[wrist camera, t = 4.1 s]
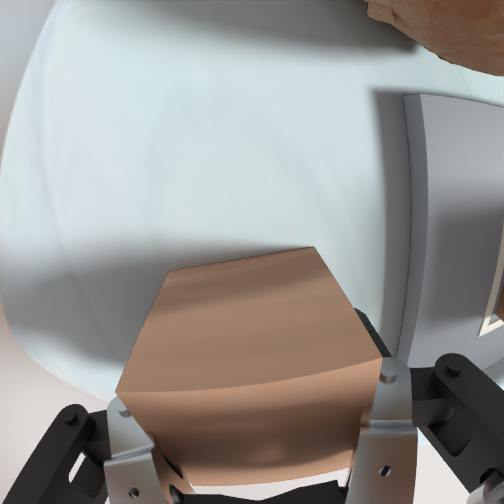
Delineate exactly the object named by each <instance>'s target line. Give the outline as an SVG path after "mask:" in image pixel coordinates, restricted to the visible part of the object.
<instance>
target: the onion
mask: <svg viewBox="0 0 504 504" xmlns="http://www.w3.org/2000/svg"><path fill="white" fill-rule="evenodd" d="M362 1H364V2H366V3H368V4H369V5H368V9H367V14H368V17H370V18H373V19H375V20H377V21H381V22H385V23H389V24H391V25H393V26H394V27H395V28H397V29H398V30H399V31H401V32H402V33H404V34H405V35H407V36H408V37H409V38H411V39H413V40H414V41H416V42H418V43H419V44H421V45H422V46H424V47H425V48H426V49H427V50H428V51H430V52H433V53H435V54H436V55H438V57H439V58H440V59H443V60H445V61H447V62H449V63H451V64H456V65H460V66H463V67H466V68H469V69H471V70H474V71H479V72H483V73H487V74H491V75H494V76H504V0H362Z"/></svg>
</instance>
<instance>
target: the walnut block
mask: <svg viewBox="0 0 504 504" xmlns="http://www.w3.org/2000/svg"><path fill="white" fill-rule="evenodd" d="M495 314H496V315H497V316H498V317H499V318H500V319H501V320H502V321H503V322H504V285H503V289H502V293H501V296H500V300H499V303H498V307H497V310H496V313H495Z"/></svg>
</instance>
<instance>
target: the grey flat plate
mask: <svg viewBox="0 0 504 504" xmlns="http://www.w3.org/2000/svg"><path fill="white" fill-rule="evenodd" d="M403 102H404V109H405V116H406V124H407V133H408V143H409V155H410V171H411V245H410V261H409V273H408V283H407V292H406V301H405V308H404V315H403V322H402V328H401V334H400V339H399V345H398V350H397V355H396V358H397V359H400V360H402V361H403V362H405V363H406V364H407V365H408V367H410V368H423V367H434V366H435V363H436V361H437V359H438V358H439V357H441V356H442V355H444V354H447V353H458V354H461V355H463V356H465V357H466V358H468V359H469V360H470V361H471V362H472V363H474V364H475V365H476V366H477V367H478V368H479V369H480V370H481V371H483V370H485V369H487V368H488V367H490V366H492V365H493V364H495V363H497V362H498V361H500V360H502V359H503V358H504V322H503V321H502V320H501V319H500V318H499V317H498V316H497V315H496V314H495V313H496V310H497V307H498V303H499V300H500V296H501V293H502V289H503V285H504V108H503V107H498V106H494V105H490V104H485V103H480V102H475V101H470V100H464V99H458V98H452V97H445V96H437V95H428V94H415V95H409V96H403Z"/></svg>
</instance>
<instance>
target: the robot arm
mask: <svg viewBox="0 0 504 504" xmlns="http://www.w3.org/2000/svg"><path fill="white" fill-rule="evenodd" d="M354 310H355V311H356V313H357V315H358V316H359V318H360V320H361V321H362V323H363V325H364V326H365V328H366V330H367V331H368V333H369V335H370V336H371V338H372V340H373V341H374V343H375V345H376V347H377V348H378V350H379V352H380V354H381V355H382V357H383V358H382V364H381V369H380V374H379V380H378V384H377V389H376V394H375V398H374V403H372V404H369V405H365V406H363V407H362V412H361V418H360V424H359V431H358V436H357V441H356V443H354V447H353V451H352V457H351V461H350V466H349V470H348V474H347V478H346V482H345V486H344V487H339V486H338V481H337V480H333V481H329V482H325V483H320V484H315V485H310V486H305V487H299V488H296V489H294V490H291V491H288V492H285V493H283V494H280V495H277V496H274V497H271V498H268V499H264V500H260V501H256V500H249V499H242V498H236V497H231V496H225V495H220V494H214V495H211V494H210V495H209V494H205V495H204V494H196V493H195V492H194V490H193V489H192V487H191V486H190V484H189V482H188V479H187V477H186V474H185V472H184V470H183V468H182V467H181V466H180V465H179V464H172V463H171V462H170V461H169V460H168V459H167V458H166V457H165V456H164V454H163V453H162V451H161V448H160V444H159V441H158V439H157V438H156V437H155V436H154V434H153V433H152V432H151V431H143V429H142V428H141V427H140V426H139V424H138V423H137V422H136V420H135V419H134V418H133V416H132V415H131V414H130V412H129V411H128V410H127V408H126V407H125V405H124V404H123V403H122V401H121V400H120V398H119V397H118V396H117V397H115V398H114V399H113V400H112V401H111V402H110V404H109V405H108V408H107V410H103V411H98V412H93V413H88V412H87V410H86V409H85V408H84V407H83V406H82V405H79V404H72V405H69V406H66V407H65V408H63V409H62V410H61V411H60V412H59V414H58V415H57V417H56V418H55V419H54V421H53V422H52V424H51V425H50V427H49V428H48V430H47V431H46V433H45V434H44V436H43V437H42V439H41V441H40V442H39V444H38V445H37V447H36V448H35V450H34V451H33V453H32V454H31V456H30V458H29V459H28V461H27V462H26V464H25V466H24V467H23V469H22V471H21V472H20V474H19V475H18V477H17V479H16V481H15V482H14V484H13V486H12V487H11V489H10V491H9V493H8V494H7V496H6V498H5V500H4V501H3V504H105V501H106V499H107V497H108V496H109V501H110V504H413V498H414V489H415V488H414V487H415V479H416V466H417V444H418V432H417V427H418V428H419V429H420V431H421V432H422V433H423V434H424V436H425V437H426V438H427V439H428V441H429V442H430V443H431V444H432V446H433V447H434V448H435V450H436V451H437V452H438V453H439V454H440V456H441V457H442V458H443V460H444V461H445V462H446V463H447V465H448V466H449V467H450V469H451V470H452V471H453V472H454V474H455V475H456V476H457V478H458V479H459V480H460V482H461V483H462V484H463V485H464V487H465V488H466V489H467V491H468V492H469V493H470V496H469V498H468V500H467V504H504V391H503V390H502V389H501V388H500V387H499V386H498V385H497V384H496V383H495V382H494V381H493V380H491V379H490V378H489V377H488V376H487V375H486V374H485V373H484V372H483V371H481V370H480V369H479V368H478V367H477V366H476V365H475V364H474V363H472V362H471V361H470V360H469V359H468V358H466V357H465V356H463V355H461V354H458V353H447V354H444V355H442V356H441V357H439V358H438V359H437V361H436V363H435V366H434V367H423V368H410V367H408V365H407V364H406V363H405V362H403V361H402V360H400V359H397V358H393V357H392V356H391V354H390V353H389V351H388V349H387V348H386V346H385V345H384V343H383V341H382V340H381V338H380V336H379V335H378V333H377V332H376V331H375V329H374V327H373V325H371V322H370V321H369V319H368V318H367V316H366V314H364V313H363V312H361V311H360V310H358V309H356V308H354ZM81 452H82V453H83V454H84V455H85V456H86V457H85V458H84V461H83V462H82V464H81V466H80V468H79V470H78V471H77V473H76V475H75V477H74V479H73V480H72V482H71V483H70V482H69V473H70V471H71V469H72V467H73V466H74V464H75V462H76V460H77V458H78V457H79V455H80V453H81Z"/></svg>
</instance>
